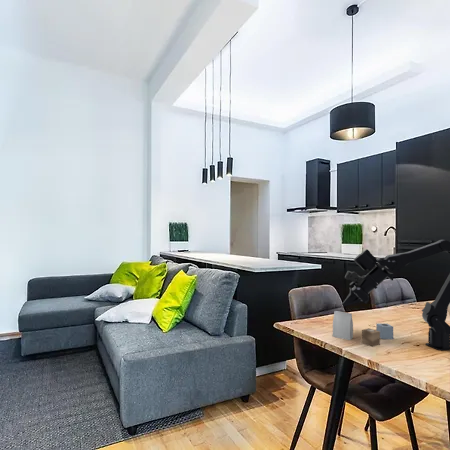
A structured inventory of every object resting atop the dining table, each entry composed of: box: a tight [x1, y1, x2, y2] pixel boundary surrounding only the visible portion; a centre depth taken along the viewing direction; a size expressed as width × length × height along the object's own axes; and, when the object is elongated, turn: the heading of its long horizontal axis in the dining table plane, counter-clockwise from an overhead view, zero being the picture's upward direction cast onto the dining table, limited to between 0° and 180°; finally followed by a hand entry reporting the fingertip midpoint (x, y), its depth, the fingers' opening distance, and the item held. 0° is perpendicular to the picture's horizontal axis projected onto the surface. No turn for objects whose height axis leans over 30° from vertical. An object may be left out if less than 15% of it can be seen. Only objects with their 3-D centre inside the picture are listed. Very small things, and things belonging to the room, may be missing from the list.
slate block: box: [375, 323, 394, 340], centre depth 131 cm, size 4×4×5 cm
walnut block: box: [361, 328, 381, 347], centre depth 123 cm, size 4×4×5 cm
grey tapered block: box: [332, 310, 354, 341], centre depth 130 cm, size 4×7×10 cm, turn 51°
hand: (342, 305), depth 131 cm, fingers closed
